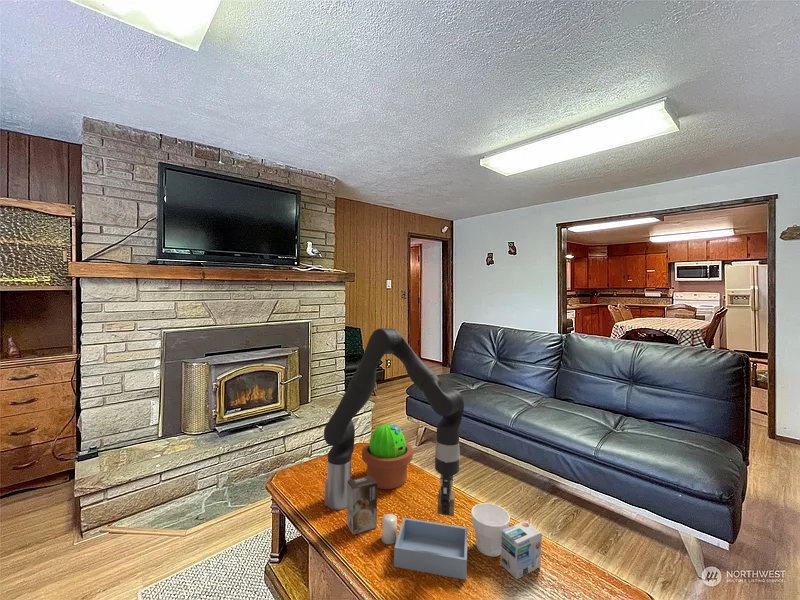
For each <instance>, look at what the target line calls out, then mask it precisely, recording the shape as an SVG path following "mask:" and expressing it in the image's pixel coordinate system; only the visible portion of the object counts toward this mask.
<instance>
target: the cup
mask: <svg viewBox="0 0 800 600" xmlns="http://www.w3.org/2000/svg"><path fill="white" fill-rule="evenodd" d="M470 513H471V514H470V515H471V522H472V523H471V524H472V527H473V529H474V537H475V541H476V542H475V543H476V544H475V545H476V548H477V550H478V551H479V552H480V553H481V554H483V555H485V556H487V557H498V556H501V544H502V530H504V529H507V528H509V527H510V522H511V521H510V520H511V516H510V514H509V512H508V511H507V510H506V509H505V508H503V507H502V506H499V505H497V504H495V503H494V504H493V503H490V502H485V503H484V502H483V503H482V502H481V503H477V504H475V505H474V506H473V507H472V508H471V511H470Z"/></svg>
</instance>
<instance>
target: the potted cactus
mask: <svg viewBox="0 0 800 600" xmlns="http://www.w3.org/2000/svg"><path fill="white" fill-rule="evenodd" d="M404 435H405V434H404V433H403V431H402V429H401V428H400V427H398V426H397V424H395V423H392V424H391V422H389V423H384V424H381V425H379V426H378V427H376V428H375V429H374V430H373V431H372V433H371V435H370V438H369V439H368V440H369V442H367V443H365V444H364V445H363V447H362V448H361V459H362V461H363V462H364V463H365V464H366V476H369V475H370V476H371V477H372V478H373V479H374V480H375V481H376V482H377V489H381V490H392V489H393V490H394V489H397V488H399V487H401V486H403V485H404V484H405V483H406V481H407V478H408V473H407V472H408V464H410V463H411V462H412V460H413V456H414V455H413V454H414V451H413V450H414V449H413V447H412V446H411V445H410V444H409V443H407V442H406V437H405V436H404Z"/></svg>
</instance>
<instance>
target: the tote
mask: <svg viewBox="0 0 800 600" xmlns="http://www.w3.org/2000/svg"><path fill="white" fill-rule="evenodd" d="M468 530H469V528H468V527H466V526H465V527H464V526H458V525H453V524H447V523H446V524H445V523H440V522H434V521H426V520H421V519H414V518H408V517H407V518H406V517H403V519H402V522H401V525H400V529H399V532H398V533H397V540H396V542H395V543H394V544H395V545H394V547H393V548H394V549H393V567H394V568H395V567H396V568H401V569H405V570H411V571H417V572H420V573H421V572H422V573H425V574H426V573H427V574H431V575H438V576H443V577H449V578H454V579H458V580H459V579H460V580H464V581H467V575H468V574H467V573H468V570H467V569H468V568H467V567H468Z"/></svg>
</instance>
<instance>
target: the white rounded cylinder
mask: <svg viewBox="0 0 800 600" xmlns="http://www.w3.org/2000/svg"><path fill="white" fill-rule="evenodd" d="M397 528H398V517H397V516H396V515H395V514H392V513H386V514H384V515H383V516H382V519H381V542H382V543H384V544H385V545H393V544H396V541H397V537H398V533H397V531H398V529H397Z"/></svg>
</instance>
